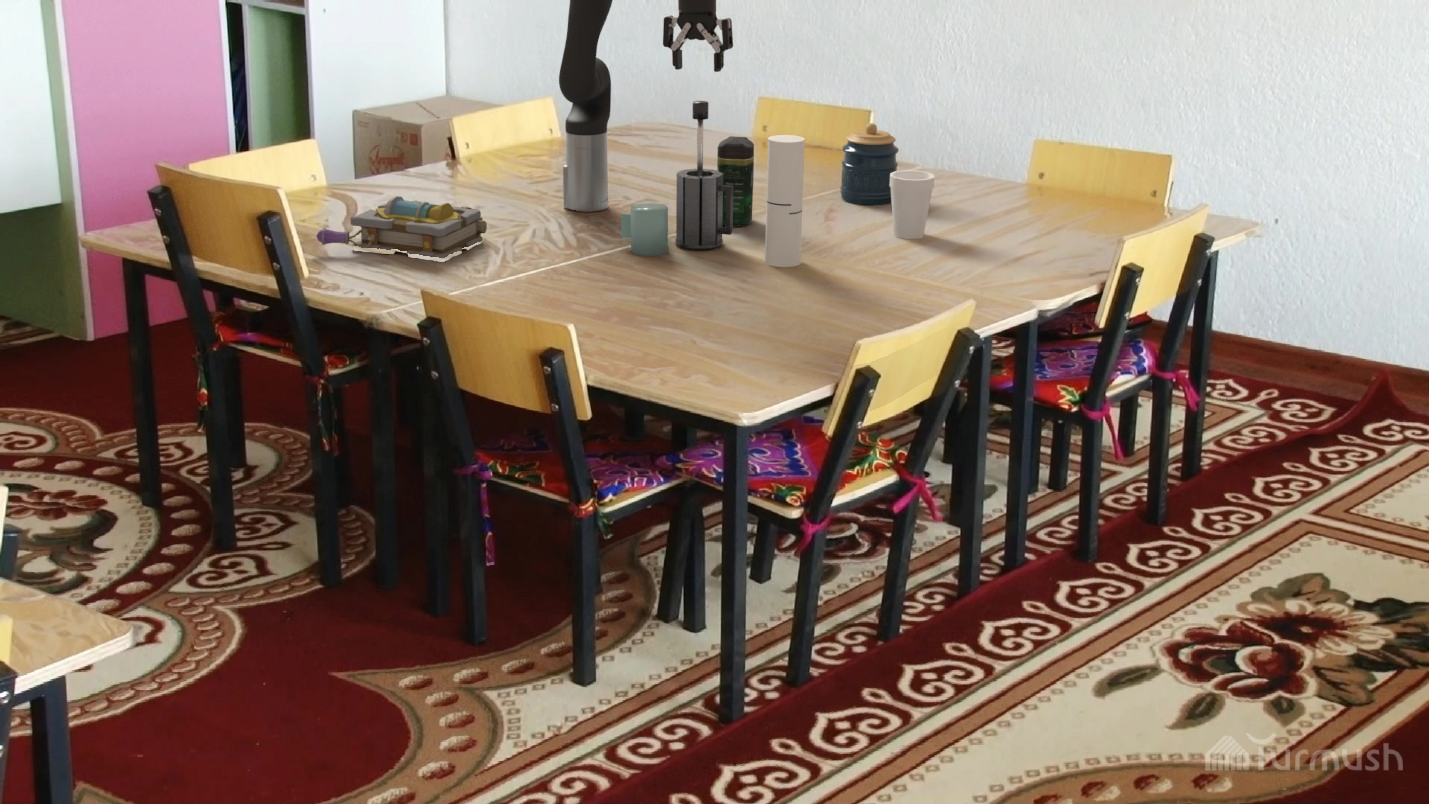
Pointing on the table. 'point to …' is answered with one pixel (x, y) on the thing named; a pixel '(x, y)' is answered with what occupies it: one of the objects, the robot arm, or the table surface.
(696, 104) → the plunger
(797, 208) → the cylindrical container
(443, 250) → the decorative book
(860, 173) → the canister
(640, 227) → the teal mug
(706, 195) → the faceted grey mug
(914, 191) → the foam cup
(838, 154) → the table surface
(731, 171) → the coffee jar
